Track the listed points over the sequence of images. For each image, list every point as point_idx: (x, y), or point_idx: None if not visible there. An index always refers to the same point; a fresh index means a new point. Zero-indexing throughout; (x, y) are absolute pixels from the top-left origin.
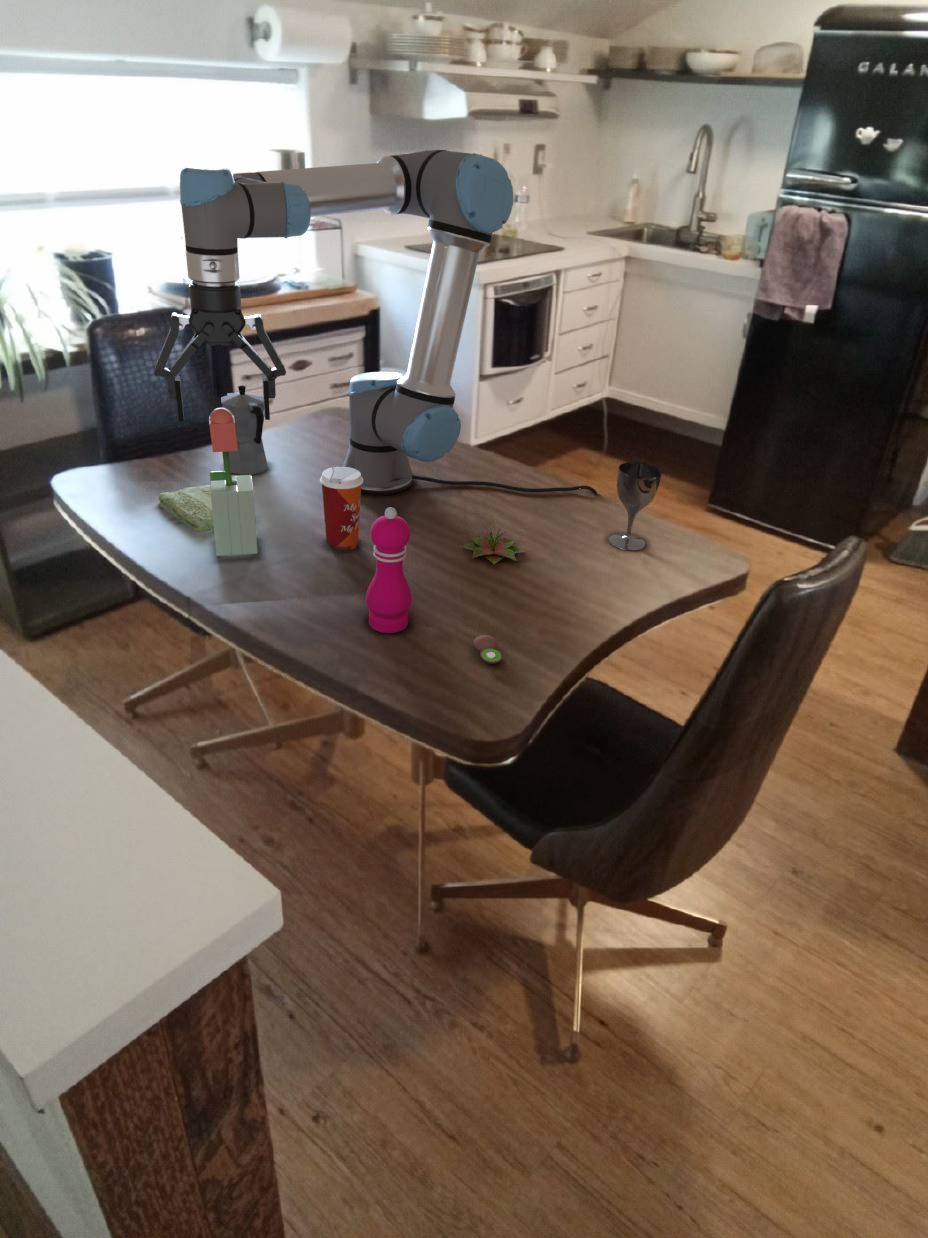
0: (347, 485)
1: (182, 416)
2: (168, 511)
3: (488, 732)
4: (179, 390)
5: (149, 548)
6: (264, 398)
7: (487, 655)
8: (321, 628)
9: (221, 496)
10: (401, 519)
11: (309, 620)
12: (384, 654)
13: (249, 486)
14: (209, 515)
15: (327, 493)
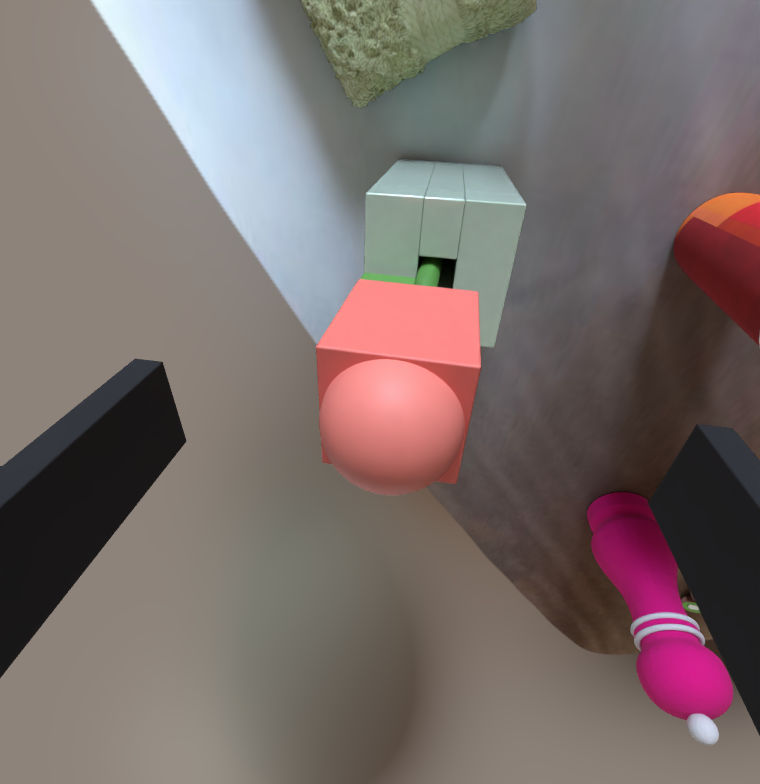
0: None
1: (167, 460)
2: None
3: (602, 648)
4: (45, 611)
5: (241, 156)
6: (719, 648)
7: (689, 606)
8: (517, 495)
9: None
10: (718, 716)
11: (508, 476)
12: (572, 554)
13: (490, 314)
14: (384, 44)
15: (752, 331)
